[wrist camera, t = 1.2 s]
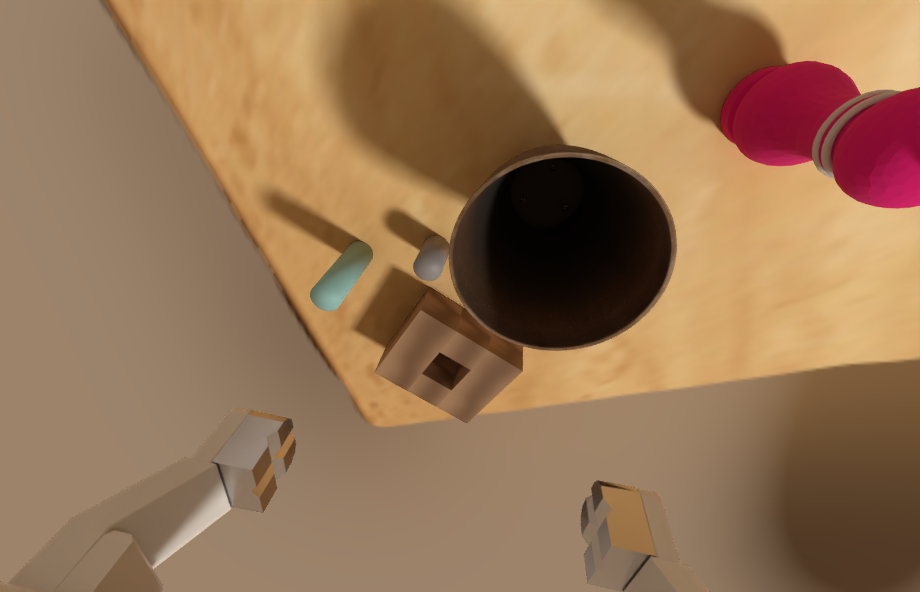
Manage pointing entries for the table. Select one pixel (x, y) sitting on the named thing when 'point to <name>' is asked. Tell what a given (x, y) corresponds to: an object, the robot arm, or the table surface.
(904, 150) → the pepper mill
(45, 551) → the robot arm
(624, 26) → the table surface
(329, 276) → the teal dowel
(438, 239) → the charcoal dowel
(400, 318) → the table surface
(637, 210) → the plant pot
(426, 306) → the walnut block
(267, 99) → the table surface
